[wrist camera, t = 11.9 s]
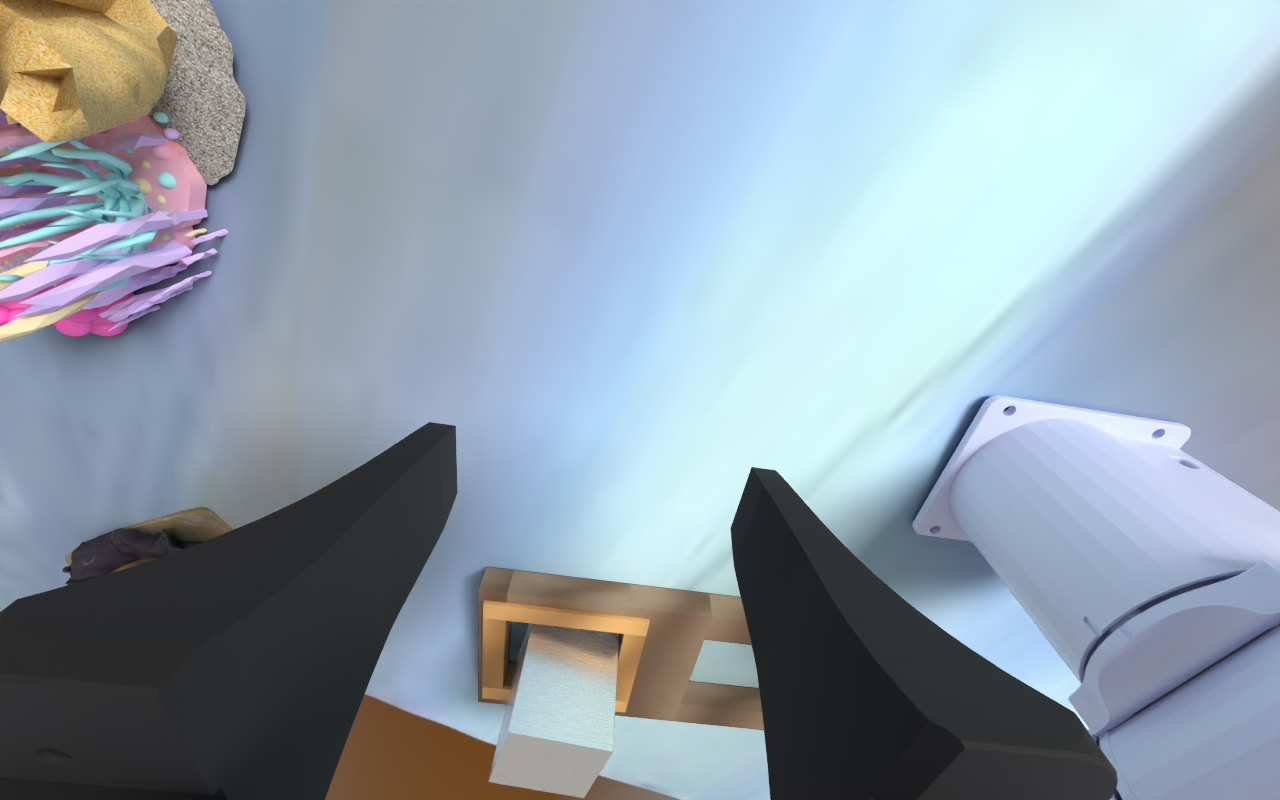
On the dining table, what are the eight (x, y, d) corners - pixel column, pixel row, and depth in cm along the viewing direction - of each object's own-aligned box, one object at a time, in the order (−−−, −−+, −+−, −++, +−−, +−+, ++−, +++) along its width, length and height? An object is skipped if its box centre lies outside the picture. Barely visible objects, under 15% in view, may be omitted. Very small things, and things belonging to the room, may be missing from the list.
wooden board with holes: (844, 609, 29) (855, 636, 27) (788, 709, 34) (794, 736, 32) (486, 566, 27) (477, 592, 26) (485, 677, 32) (477, 704, 31)
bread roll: (211, 489, 25) (148, 543, 22) (318, 595, 29) (277, 654, 26) (56, 541, 27) (-24, 599, 24) (176, 634, 31) (122, 694, 28)
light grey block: (619, 620, 29) (612, 751, 23) (595, 667, 32) (583, 798, 26) (537, 601, 29) (508, 732, 23) (519, 651, 31) (488, 781, 25)
